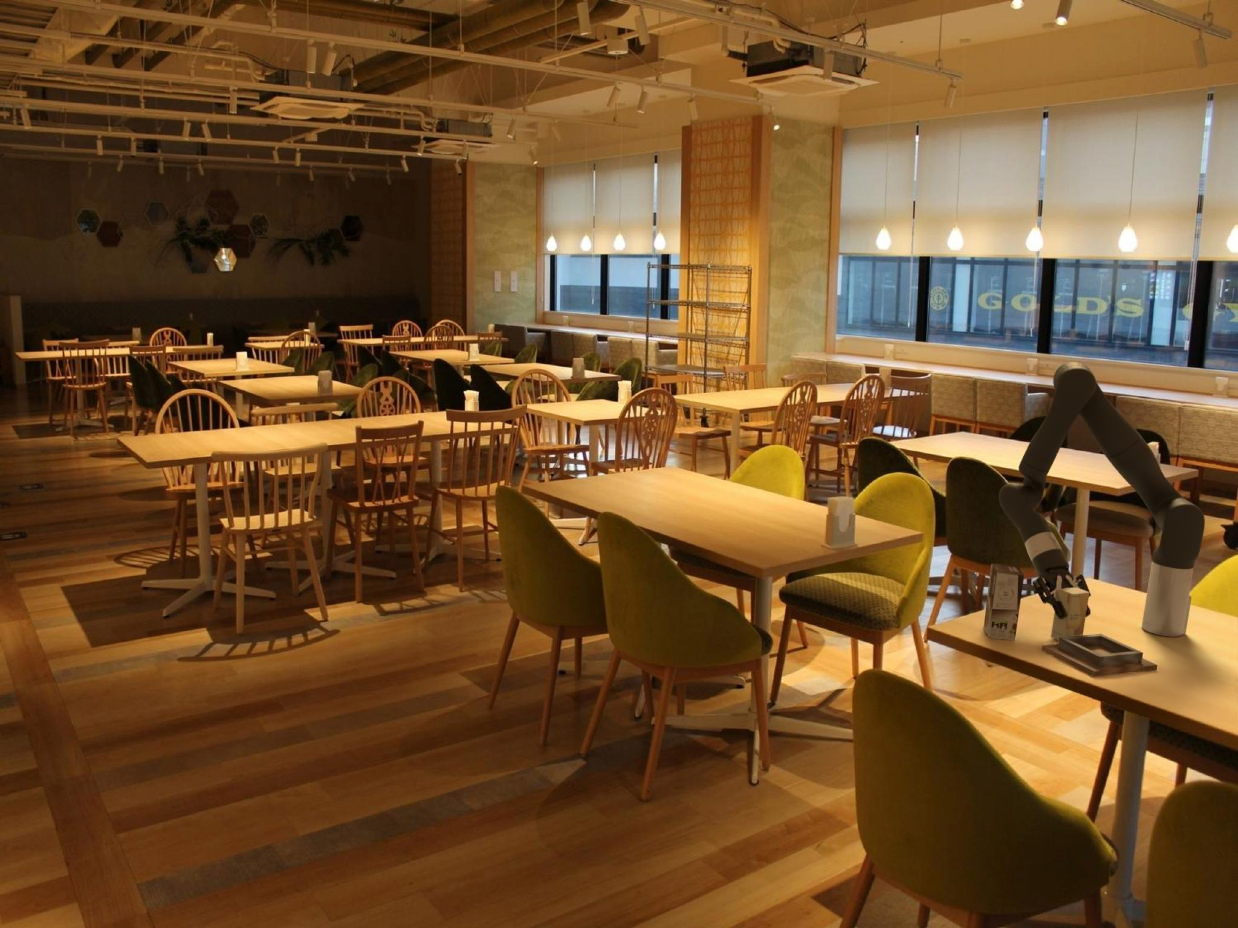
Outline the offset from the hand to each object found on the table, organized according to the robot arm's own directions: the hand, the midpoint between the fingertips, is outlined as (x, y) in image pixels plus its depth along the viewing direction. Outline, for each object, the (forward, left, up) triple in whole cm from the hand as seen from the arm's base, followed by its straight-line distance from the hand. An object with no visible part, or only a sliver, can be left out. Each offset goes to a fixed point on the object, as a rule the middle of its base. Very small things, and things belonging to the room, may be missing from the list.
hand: (1075, 616), depth 253 cm
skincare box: (0, -2, -6) cm, 7 cm away
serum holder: (+3, +11, -6) cm, 13 cm away
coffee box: (+14, -9, -6) cm, 18 cm away
